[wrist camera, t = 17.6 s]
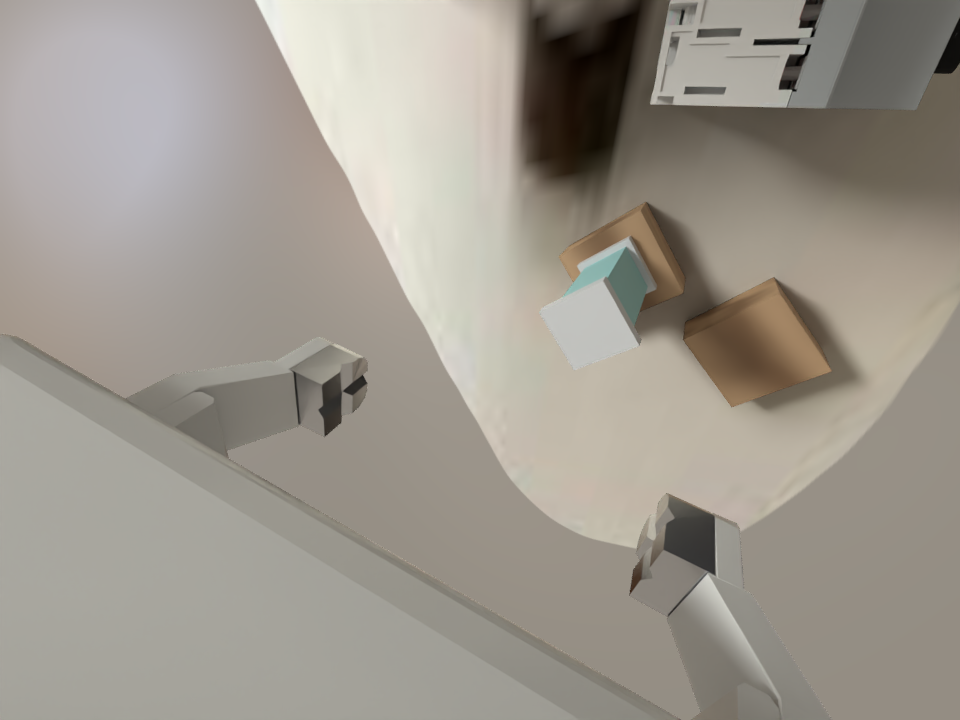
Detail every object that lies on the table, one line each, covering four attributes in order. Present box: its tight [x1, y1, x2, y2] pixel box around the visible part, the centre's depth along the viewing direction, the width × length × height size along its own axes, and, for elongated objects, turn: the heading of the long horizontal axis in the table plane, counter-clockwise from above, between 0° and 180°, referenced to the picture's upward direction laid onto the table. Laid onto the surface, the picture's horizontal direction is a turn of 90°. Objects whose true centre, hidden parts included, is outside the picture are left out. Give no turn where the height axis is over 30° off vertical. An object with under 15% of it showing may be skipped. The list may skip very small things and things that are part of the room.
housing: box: [539, 235, 657, 370], centre depth 34 cm, size 5×5×12 cm
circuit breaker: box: [650, 0, 960, 110], centre depth 24 cm, size 8×14×15 cm, turn 88°
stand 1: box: [559, 202, 686, 312], centre depth 40 cm, size 8×8×4 cm
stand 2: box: [683, 278, 832, 407], centre depth 39 cm, size 8×8×4 cm
